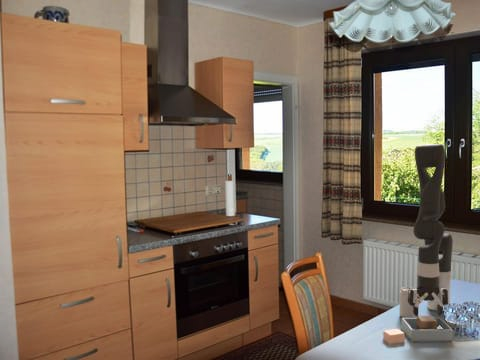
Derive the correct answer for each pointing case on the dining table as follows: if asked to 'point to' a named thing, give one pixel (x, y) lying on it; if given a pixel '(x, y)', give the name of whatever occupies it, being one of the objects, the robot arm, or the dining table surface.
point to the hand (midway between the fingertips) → (427, 315)
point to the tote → (427, 331)
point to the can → (406, 303)
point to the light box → (393, 336)
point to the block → (426, 323)
